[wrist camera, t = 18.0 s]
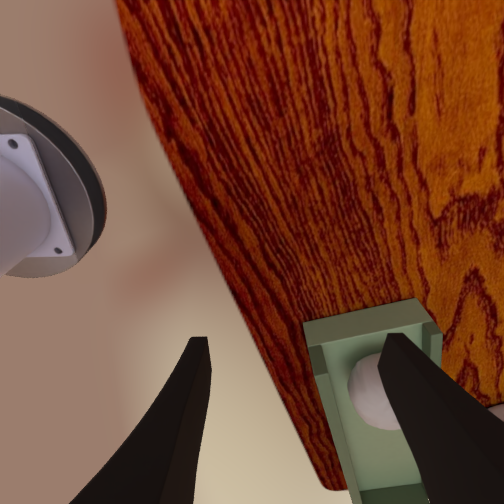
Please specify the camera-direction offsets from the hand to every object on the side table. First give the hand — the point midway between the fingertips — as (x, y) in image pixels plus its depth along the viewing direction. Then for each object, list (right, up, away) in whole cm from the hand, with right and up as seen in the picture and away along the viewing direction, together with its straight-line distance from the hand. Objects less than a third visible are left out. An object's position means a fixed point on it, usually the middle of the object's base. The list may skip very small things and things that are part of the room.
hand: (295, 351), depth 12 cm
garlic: (+8, -5, +11) cm, 14 cm away
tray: (+11, -12, +19) cm, 25 cm away
